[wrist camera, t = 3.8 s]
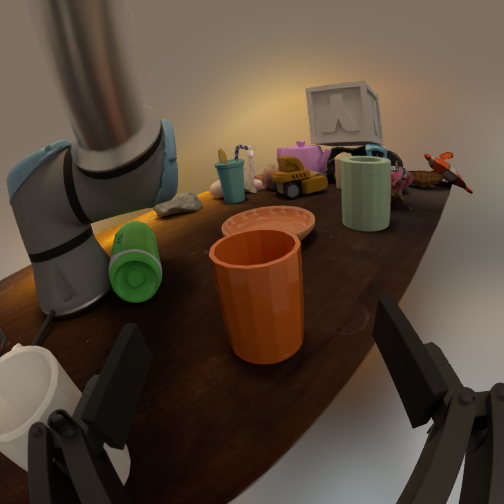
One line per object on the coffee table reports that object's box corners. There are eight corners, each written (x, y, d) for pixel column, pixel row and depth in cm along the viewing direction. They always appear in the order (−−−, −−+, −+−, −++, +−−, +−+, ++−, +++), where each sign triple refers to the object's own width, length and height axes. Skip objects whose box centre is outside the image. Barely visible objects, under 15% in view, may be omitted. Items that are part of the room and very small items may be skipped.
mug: (94, 385, 22) (44, 306, 17) (149, 478, 13) (68, 407, 9) (37, 416, 17) (-22, 343, 13) (72, 516, 9) (-28, 454, 4)
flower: (364, 217, 60) (359, 178, 62) (401, 218, 60) (395, 179, 61) (383, 201, 49) (374, 156, 51) (423, 203, 48) (414, 160, 50)
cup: (266, 200, 70) (258, 142, 64) (243, 208, 66) (234, 146, 59) (232, 194, 80) (224, 144, 74) (210, 202, 76) (201, 149, 69)
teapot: (268, 182, 88) (263, 144, 83) (291, 175, 96) (287, 140, 90) (322, 187, 75) (318, 143, 69) (341, 179, 82) (339, 139, 77)
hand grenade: (322, 167, 83) (335, 170, 74) (334, 164, 84) (349, 167, 74) (324, 180, 85) (338, 185, 76) (336, 177, 85) (351, 182, 76)
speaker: (102, 301, 31) (157, 311, 35) (111, 248, 30) (170, 261, 33) (112, 251, 46) (150, 260, 50) (120, 213, 45) (159, 223, 48)
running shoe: (398, 148, 72) (408, 148, 79) (322, 140, 92) (339, 141, 99) (396, 183, 76) (407, 180, 83) (322, 170, 97) (339, 168, 104)
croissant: (444, 169, 60) (445, 186, 60) (441, 177, 66) (442, 193, 66) (400, 166, 67) (401, 183, 67) (400, 174, 73) (401, 190, 73)
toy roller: (331, 190, 70) (328, 151, 66) (283, 201, 67) (277, 159, 62) (314, 185, 78) (310, 149, 73) (269, 195, 74) (263, 157, 70)
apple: (273, 198, 77) (259, 174, 74) (269, 190, 84) (257, 168, 80) (298, 185, 76) (285, 160, 72) (292, 178, 83) (280, 156, 79)
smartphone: (240, 190, 80) (237, 179, 93) (240, 193, 80) (237, 182, 94) (265, 187, 80) (259, 177, 94) (265, 190, 81) (259, 180, 94)
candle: (336, 185, 77) (334, 151, 72) (355, 185, 75) (353, 151, 70) (335, 190, 72) (333, 153, 68) (355, 190, 70) (354, 153, 66)
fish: (432, 135, 62) (433, 147, 74) (413, 167, 68) (417, 176, 80) (484, 173, 54) (478, 181, 65) (465, 208, 59) (461, 210, 71)
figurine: (238, 181, 87) (238, 144, 81) (260, 180, 88) (261, 144, 82) (240, 187, 81) (239, 147, 75) (263, 186, 81) (264, 147, 76)
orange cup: (294, 370, 22) (288, 271, 18) (218, 357, 25) (192, 264, 20) (309, 318, 28) (306, 228, 24) (245, 311, 31) (231, 227, 26)
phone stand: (390, 188, 69) (390, 145, 63) (362, 186, 73) (361, 144, 68) (392, 182, 74) (391, 143, 69) (366, 180, 79) (364, 142, 73)
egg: (238, 185, 81) (212, 191, 81) (234, 171, 76) (207, 178, 77) (239, 198, 78) (213, 204, 78) (235, 184, 73) (207, 191, 74)
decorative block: (333, 146, 94) (327, 95, 88) (383, 145, 82) (377, 91, 76) (311, 144, 79) (304, 84, 73) (371, 141, 68) (363, 76, 62)
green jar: (391, 232, 44) (393, 164, 39) (341, 230, 47) (339, 162, 42) (386, 215, 52) (386, 156, 46) (343, 213, 55) (341, 155, 50)
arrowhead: (225, 170, 76) (242, 199, 76) (229, 165, 75) (247, 194, 74) (243, 168, 82) (260, 195, 82) (247, 164, 81) (265, 191, 80)
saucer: (249, 268, 39) (246, 249, 38) (211, 235, 52) (208, 220, 51) (335, 236, 45) (334, 219, 44) (283, 214, 58) (281, 200, 57)
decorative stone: (169, 223, 64) (164, 203, 62) (150, 217, 71) (145, 200, 69) (209, 207, 71) (205, 188, 69) (186, 203, 78) (183, 187, 76)
